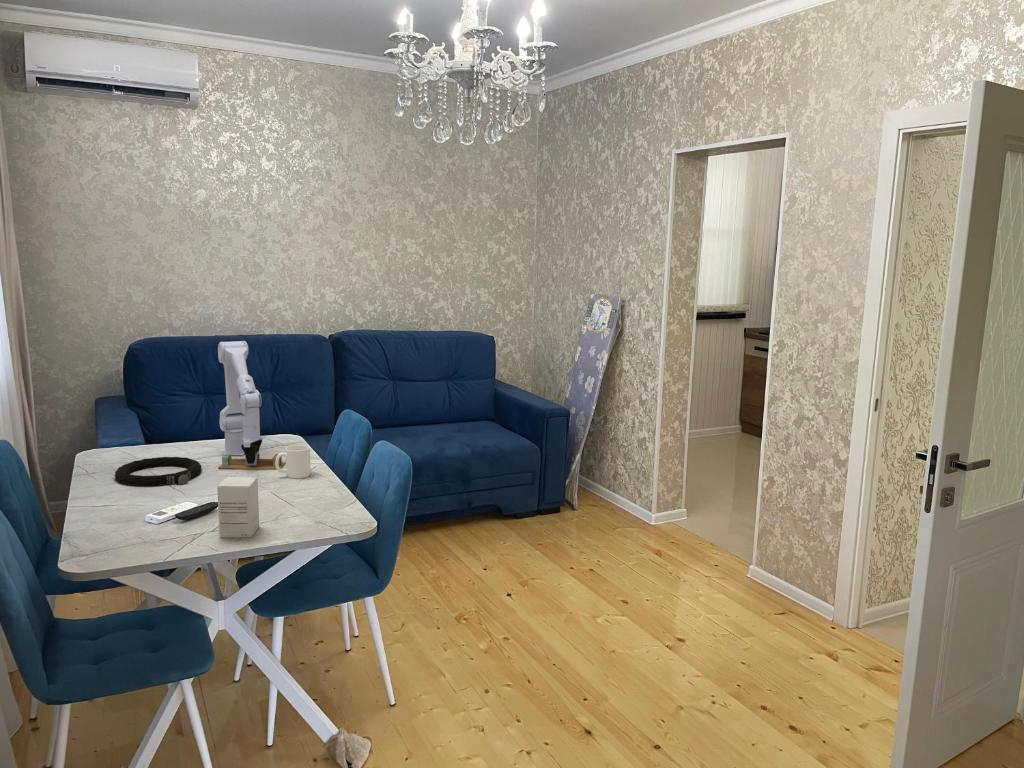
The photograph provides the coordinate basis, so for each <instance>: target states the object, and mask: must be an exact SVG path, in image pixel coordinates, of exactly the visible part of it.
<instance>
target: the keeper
mask: <svg viewBox="0 0 1024 768" xmlns="http://www.w3.org/2000/svg"><path fill="white" fill-rule="evenodd" d="M260 456H261V455H260V449H259V450H256V453H255V460H254V464H248V463H247V460H246V456H245V455H244V457H245V458H244V459H245V465H246V466H257V459H261V458H260Z"/></svg>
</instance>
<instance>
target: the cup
mask: <svg viewBox="0 0 1024 768" xmlns="http://www.w3.org/2000/svg"><path fill="white" fill-rule="evenodd" d="M277 454H278V455H277V457H276V461H275V466H276V469H277V470H276V471H277V472H279V473H282V474H285V475H286V477H287V478H289V479H294V480H295V479H297V480H298V479H300V480H301V479H305V478H308V477H309V476H311V447H310V446H309V445H305V444H294V445H293V444H292V445H288V446H286V447H285V452H280V453H277ZM281 456H282V457H285V468H284V469H283V468H281V469H280V468H279V465H278V462H279V458H280V457H281Z"/></svg>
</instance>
